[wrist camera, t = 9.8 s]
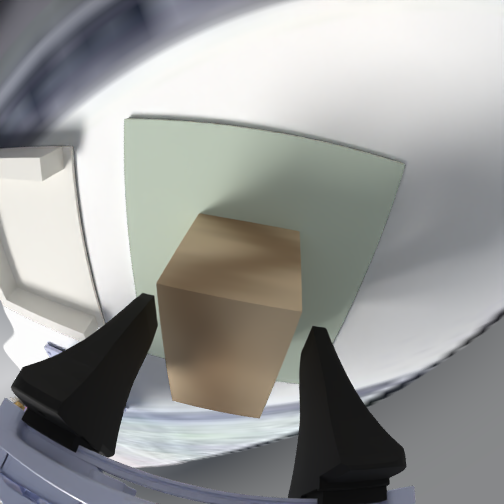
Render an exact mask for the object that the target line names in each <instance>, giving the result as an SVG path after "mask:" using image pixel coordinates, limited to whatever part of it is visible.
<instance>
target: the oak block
mask: <svg viewBox="0 0 504 504" xmlns="http://www.w3.org/2000/svg"><path fill="white" fill-rule="evenodd" d="M156 287H157V297H158V307H159V316H160V325H161V333H162V340H163V347H164V354H165V361H166V367H167V373H168V379H169V385H170V390H171V395H172V401H176V402H180V403H184V404H188V405H192V406H196V407H201V408H205V409H210V410H214V411H219V412H224V413H230V414H235V415H241V416H247V417H253V418H260V416H261V414H262V412H263V409H264V407H265V405H266V402H267V400H268V398H269V395H270V393H271V391H272V388H273V386H274V383H275V381H276V379H277V376H278V374H279V371H280V369H281V366H282V364H283V361H284V359H285V356H286V354H287V351H288V348H289V346H290V343H291V341H292V338H293V335H294V333H295V330H296V327H297V325H298V322H299V319H300V316H301V314H302V281H301V252H300V231H295V230H290V229H285V228H280V227H274V226H269V225H263V224H258V223H252V222H247V221H241V220H236V219H230V218H224V217H218V216H212V215H207V214H201V213H199V214H198V216H197V217H196V219H195V221H194V222H193V224H192V225H191V227H190V228H189V230H188V232H187V233H186V235H185V236H184V238H183V240H182V241H181V243H180V244H179V246H178V248H177V249H176V251H175V253H174V254H173V256H172V258H171V259H170V261H169V263H168V264H167V266H166V268H165V269H164V271H163V273H162V274H161V276H160V278H159V279H158V281H157V283H156Z"/></svg>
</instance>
